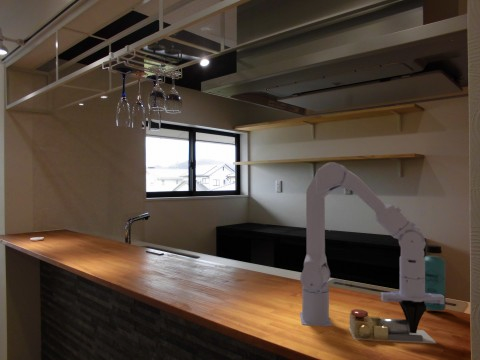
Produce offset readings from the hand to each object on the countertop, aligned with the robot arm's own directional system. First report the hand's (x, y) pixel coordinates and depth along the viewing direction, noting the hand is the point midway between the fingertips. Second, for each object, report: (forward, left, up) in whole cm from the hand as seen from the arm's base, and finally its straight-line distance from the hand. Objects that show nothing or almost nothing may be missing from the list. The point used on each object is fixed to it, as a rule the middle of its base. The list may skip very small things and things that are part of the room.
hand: (412, 331), depth 91 cm
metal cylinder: (0, -4, -1) cm, 5 cm away
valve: (0, -11, -1) cm, 11 cm away
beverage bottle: (-20, +13, -2) cm, 24 cm away
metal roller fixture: (0, -6, -1) cm, 6 cm away
